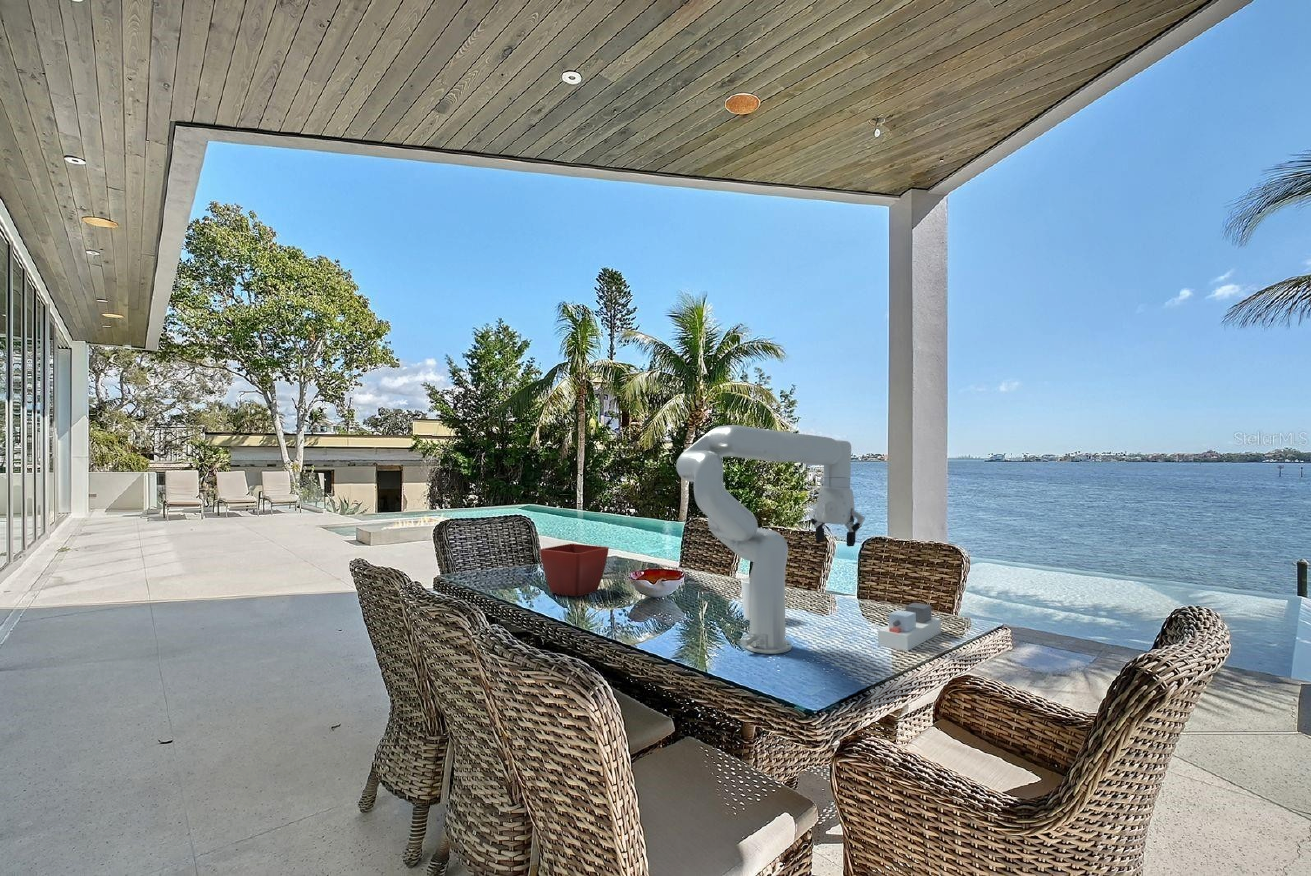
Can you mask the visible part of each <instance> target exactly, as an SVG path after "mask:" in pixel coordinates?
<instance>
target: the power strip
mask: <svg viewBox="0 0 1311 876" xmlns="http://www.w3.org/2000/svg"><path fill="white" fill-rule="evenodd" d="M941 619H942V618H940V617H934V616H933V617H932V619H931V620H929V621H927V622H925V623H919V622H916V628H914V629H912V630H910V631H908V632H904V631H901V629H900V628H894V627H892V628H890V629H889V625H887V626H884V627H883V628H880V629H878V630H877V639H878V640H877V645H878V646H880V645H881V646H882V647H886V648H891V649H897V650H901V651H905V652H908V651H910V650H912V649H913V648H915V647H917V646H919V645H921V644H923V643H924V642H927V641H929V640H930V639H932V638H933V637H936V636H938V635H939V634H941V633H942V622H941ZM926 640H927V641H926Z"/></svg>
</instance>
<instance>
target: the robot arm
mask: <svg viewBox="0 0 1311 876" xmlns="http://www.w3.org/2000/svg"><path fill="white" fill-rule="evenodd" d="M723 457H733V458H741V459H749V460H750V459H751V460H758V461H759V460H760V461H764V462H765V461H766V462H775V463H776V462H778V463H784V462H785V463H787V462H789V463H790V462H793V463H795V462H797V463H798V462H799V463H802V464H804V465H807V466H823V467H822V468H823V471H822V472H823V473H822V478H820V479H819V484H822V487H820V488H819V490H818V491H819V492H818V496H817V502H816V508H815V509H812V510H810V511H809V512H808V514H807V515H808V516H809V519H810V522H811V523H812V525H813V527H814V528H815V542H816V543H818V544H819V543H824V542H825V527H824V526H825V525H826V524H829V525H831V524H833V525H840V526H841V525H844V526H845V528H846V529H847V530H848V531H847V532H846V546H847V547H848V548H849V547H855V544H856V535H857V534H856V532H858V531H859V529H860V528H861V527H862V526H863V523H864V522H865V519H866V517H865V516H864V515H862V514H861V513H859V512H857V510H856V508H855V498H854V491H853V489H851V477H852V476H851V474H852V473H851V472H852V471H851V470H852V444H851V443H850V441H848V440H840V439H838V440H836V439H834V438H832V437H829V436H821V435H813V434H805V433H804V434H803V433H795V432H788V431H782V430H775V429H766V428H758V427H754V426H747V425H739V424H730V425H718V426H716V427H714V428H712V429H711V430H710V431H707V433H705V434H704V435H703V436H702V437H700V438H699V439H698V440H696V441H695V442H694V443H693V444H692V445H690V446H689V447H687V448H686V449H685V450H684V451H683V452H681V454H680V455H679V457H678V458H677V460H676V466H675V467H676V471H677V473H678V475H679V477H680V478H681V479H682V480H684V481H687V482H689V483H693V496H694V501H695V503H696V505H697V507H698V508H699V510H700V511H701V512H702V514H704V515H705V516H706V517H707V524H708V525H707V526H708V528H709V530H710V532H711V534H712V535H713V536H714V537H715V538H716V539H718V540H719V541H720V542H721V543H722V544H723V545H724V546H726V547H727V548H728V549H729V550H731V551H732V552H733V553H735V554H736V555H737V556H738V557H740V558H741V559H743V560H745V561H749V562H752V566H751V570H750V574H749V578H750V579H749V596H750V621H749V631H748V633H747V634H748V636H747V637H745V638H742V639H741V640H740V645H741V646H742V647H744V648H745V649H746V650H748V651H750V652H754V653H758V654H764V655H765V654H766V655H768V654H771V655H772V654H775V655H776V654H777V655H778V654H783V653H787V652H789V651H791V650H792V646H793V645H792V642H791V641H789V640H787V639H786V568H787V561H788V556H789V546H788V543H787V541H786V539H785V537H784V536H783V535H782V534H780V533H779V532H777V531H775V530H774V529H773V530H772V529H768V528H767V529H766V528H764V527H763V528H762V527H759V525H758V520H757V518H756V516H755V515H754V514H753V512H752V511H751V510H749V509H748V508H747V507H745V505H743V504H742V503H741V502H740V501H739V500H737V499H736V498H735V497H734V496H733V495H732V494H731V493H730V492H729V491H728V490H727V489H726V487H725V484H724V463H723V460H722V459H723ZM855 519H856V522H855ZM854 522H855V523H854Z"/></svg>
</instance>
